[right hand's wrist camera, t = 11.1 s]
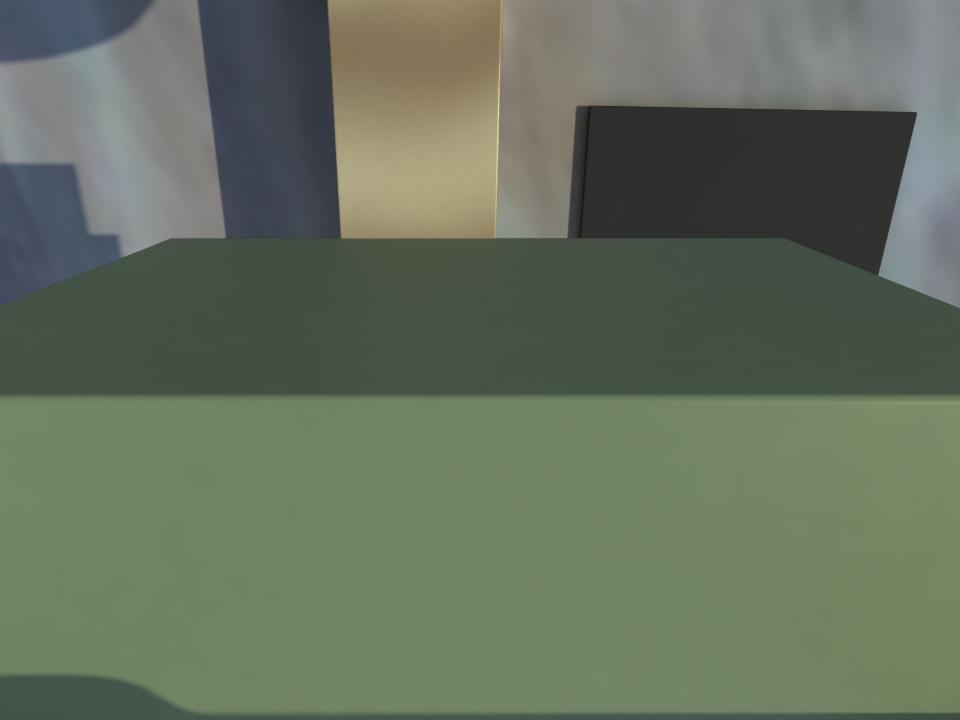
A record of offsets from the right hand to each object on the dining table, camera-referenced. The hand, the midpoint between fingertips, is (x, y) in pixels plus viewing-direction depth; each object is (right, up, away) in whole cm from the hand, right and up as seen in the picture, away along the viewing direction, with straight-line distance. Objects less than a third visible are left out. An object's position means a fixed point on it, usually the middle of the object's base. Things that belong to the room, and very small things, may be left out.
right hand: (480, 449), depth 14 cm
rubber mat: (+12, +6, +17) cm, 21 cm away
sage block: (0, 0, 0) cm, 0 cm away
